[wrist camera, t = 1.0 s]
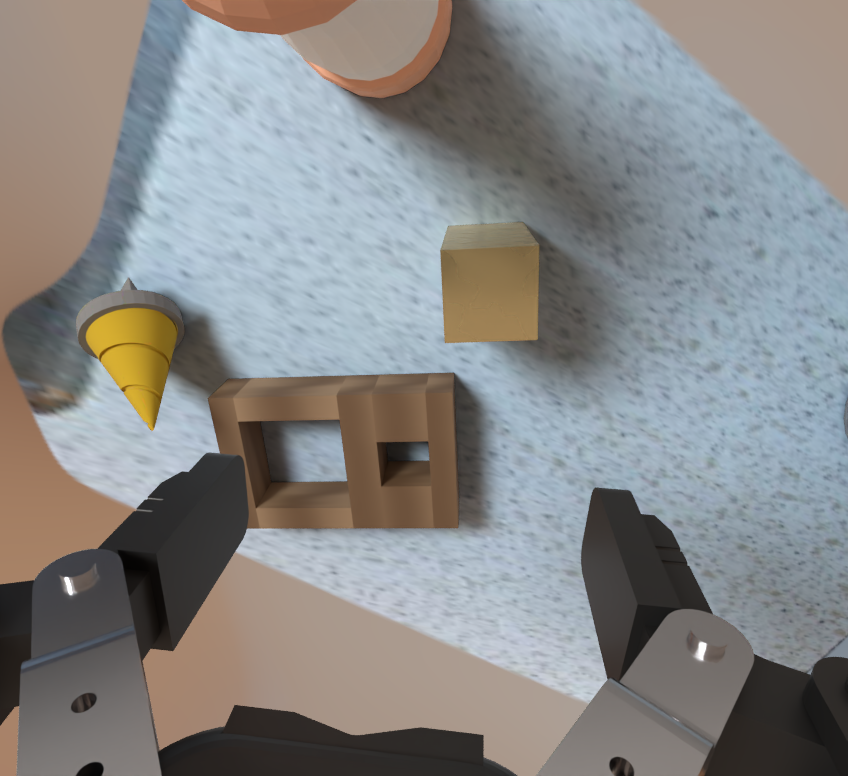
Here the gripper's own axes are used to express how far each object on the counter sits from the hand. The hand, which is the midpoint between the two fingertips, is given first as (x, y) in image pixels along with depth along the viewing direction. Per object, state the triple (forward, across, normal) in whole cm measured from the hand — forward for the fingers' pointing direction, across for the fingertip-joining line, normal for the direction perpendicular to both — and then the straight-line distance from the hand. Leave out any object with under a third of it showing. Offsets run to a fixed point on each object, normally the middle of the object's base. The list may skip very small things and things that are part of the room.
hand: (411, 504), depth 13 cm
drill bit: (+21, +17, +3) cm, 27 cm away
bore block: (+21, +6, +10) cm, 24 cm away
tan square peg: (+21, -2, -2) cm, 21 cm away
